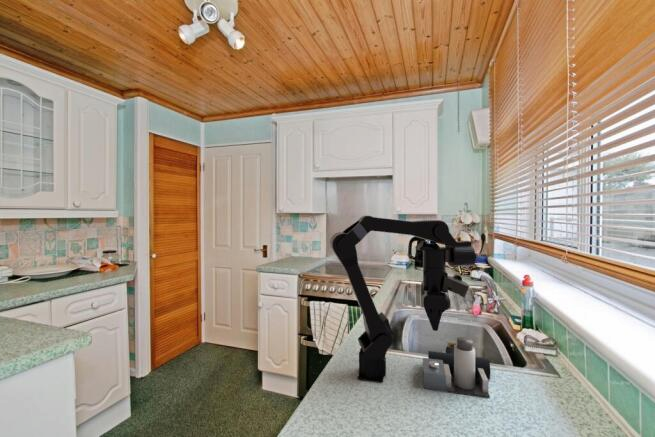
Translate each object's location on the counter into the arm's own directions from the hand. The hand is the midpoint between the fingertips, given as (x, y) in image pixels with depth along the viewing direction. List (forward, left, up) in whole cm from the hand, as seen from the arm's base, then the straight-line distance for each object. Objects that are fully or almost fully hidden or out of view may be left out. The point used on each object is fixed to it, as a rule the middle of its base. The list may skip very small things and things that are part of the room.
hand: (433, 324), depth 83 cm
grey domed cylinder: (+7, -5, -12) cm, 15 cm away
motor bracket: (+5, -5, -13) cm, 15 cm away
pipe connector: (+6, +5, -14) cm, 16 cm away
